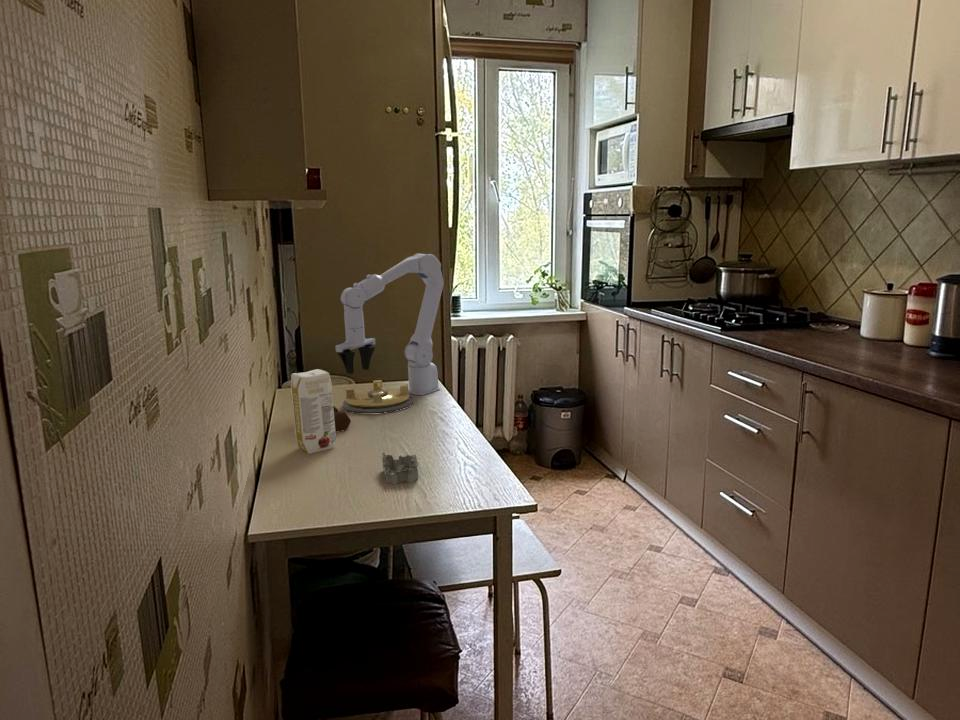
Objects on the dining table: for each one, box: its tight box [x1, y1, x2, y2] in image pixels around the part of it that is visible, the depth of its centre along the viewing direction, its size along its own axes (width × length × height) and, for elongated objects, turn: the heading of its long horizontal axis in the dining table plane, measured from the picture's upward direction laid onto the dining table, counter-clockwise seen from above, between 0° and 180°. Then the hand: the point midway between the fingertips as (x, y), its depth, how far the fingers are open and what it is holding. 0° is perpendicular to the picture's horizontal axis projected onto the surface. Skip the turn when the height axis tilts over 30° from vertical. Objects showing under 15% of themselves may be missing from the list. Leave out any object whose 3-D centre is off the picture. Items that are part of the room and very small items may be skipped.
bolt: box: [333, 405, 352, 433], centre depth 183 cm, size 6×5×15 cm
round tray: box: [345, 379, 411, 408], centre depth 201 cm, size 19×19×4 cm
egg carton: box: [382, 452, 419, 485], centre depth 144 cm, size 11×8×4 cm
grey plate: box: [342, 394, 414, 414], centre depth 202 cm, size 21×21×1 cm
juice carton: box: [290, 368, 337, 455], centre depth 161 cm, size 8×9×19 cm
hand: (357, 371), depth 205 cm, fingers open, 6 cm apart
